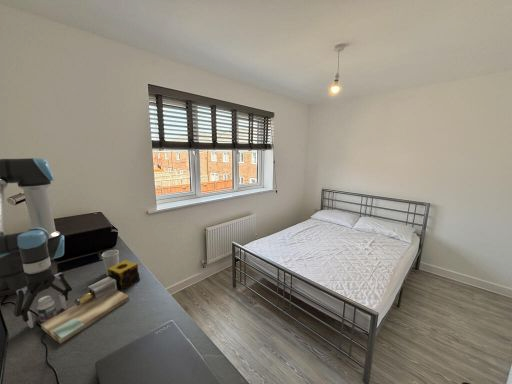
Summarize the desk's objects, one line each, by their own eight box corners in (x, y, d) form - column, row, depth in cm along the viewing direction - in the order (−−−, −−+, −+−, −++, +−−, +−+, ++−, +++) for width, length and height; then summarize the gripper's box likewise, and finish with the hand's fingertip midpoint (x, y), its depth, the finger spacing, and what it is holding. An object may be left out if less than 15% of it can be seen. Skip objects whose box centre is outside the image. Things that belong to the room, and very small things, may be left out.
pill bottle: (37, 319, 87) (32, 301, 86) (52, 310, 92) (48, 293, 90) (44, 323, 86) (40, 304, 84) (60, 314, 90) (56, 296, 89)
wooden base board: (41, 328, 83) (37, 311, 82) (110, 290, 106) (108, 276, 105) (61, 344, 77) (57, 326, 75) (130, 299, 100) (128, 285, 98)
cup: (112, 277, 117) (110, 257, 114) (100, 275, 118) (97, 255, 116) (124, 269, 124) (121, 250, 122) (112, 267, 126) (110, 249, 124)
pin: (75, 304, 92) (74, 298, 91) (95, 293, 99) (94, 287, 98) (79, 306, 90) (78, 300, 90) (99, 295, 97) (98, 289, 97)
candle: (140, 280, 114) (138, 263, 112) (122, 291, 105) (119, 273, 103) (128, 275, 119) (126, 259, 116) (109, 285, 110) (106, 268, 108)
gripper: (-1, 288, 73) (13, 341, 77) (76, 258, 93) (84, 302, 97) (-9, 282, 76) (5, 334, 80) (68, 254, 96) (76, 297, 100)
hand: (48, 316), depth 89 cm, fingers open, 10 cm apart
